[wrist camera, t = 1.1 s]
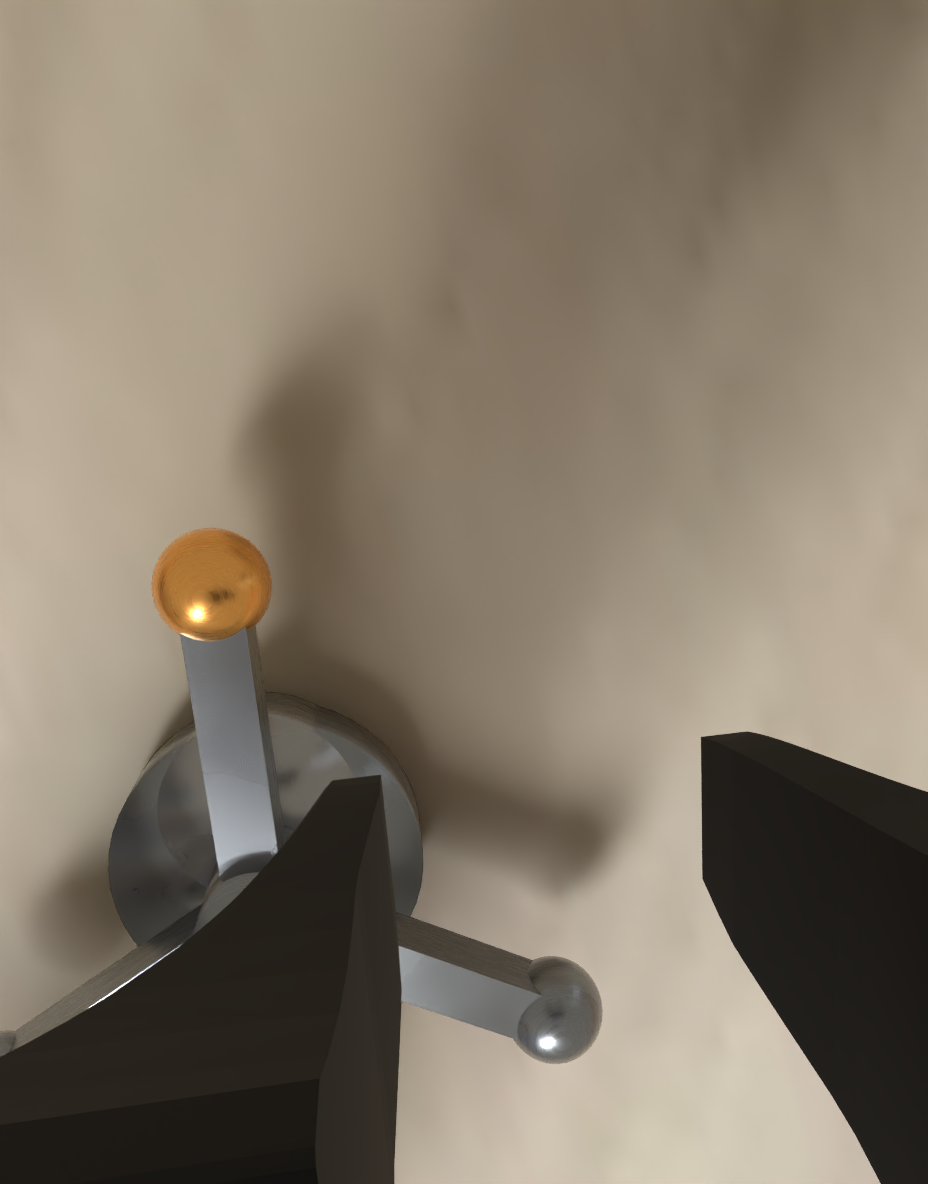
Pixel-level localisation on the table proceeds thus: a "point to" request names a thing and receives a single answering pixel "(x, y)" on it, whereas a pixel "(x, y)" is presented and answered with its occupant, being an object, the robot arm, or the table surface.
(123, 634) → the table surface
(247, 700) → the cam capstan
